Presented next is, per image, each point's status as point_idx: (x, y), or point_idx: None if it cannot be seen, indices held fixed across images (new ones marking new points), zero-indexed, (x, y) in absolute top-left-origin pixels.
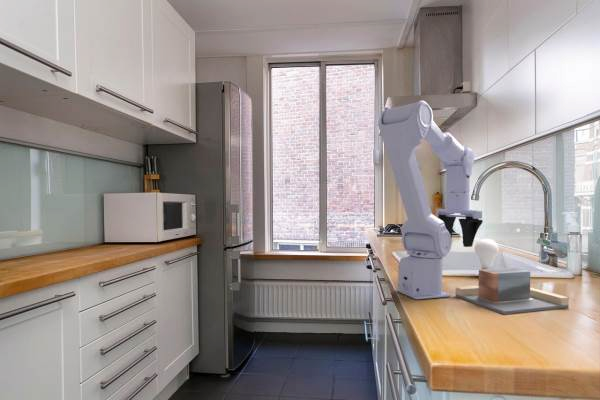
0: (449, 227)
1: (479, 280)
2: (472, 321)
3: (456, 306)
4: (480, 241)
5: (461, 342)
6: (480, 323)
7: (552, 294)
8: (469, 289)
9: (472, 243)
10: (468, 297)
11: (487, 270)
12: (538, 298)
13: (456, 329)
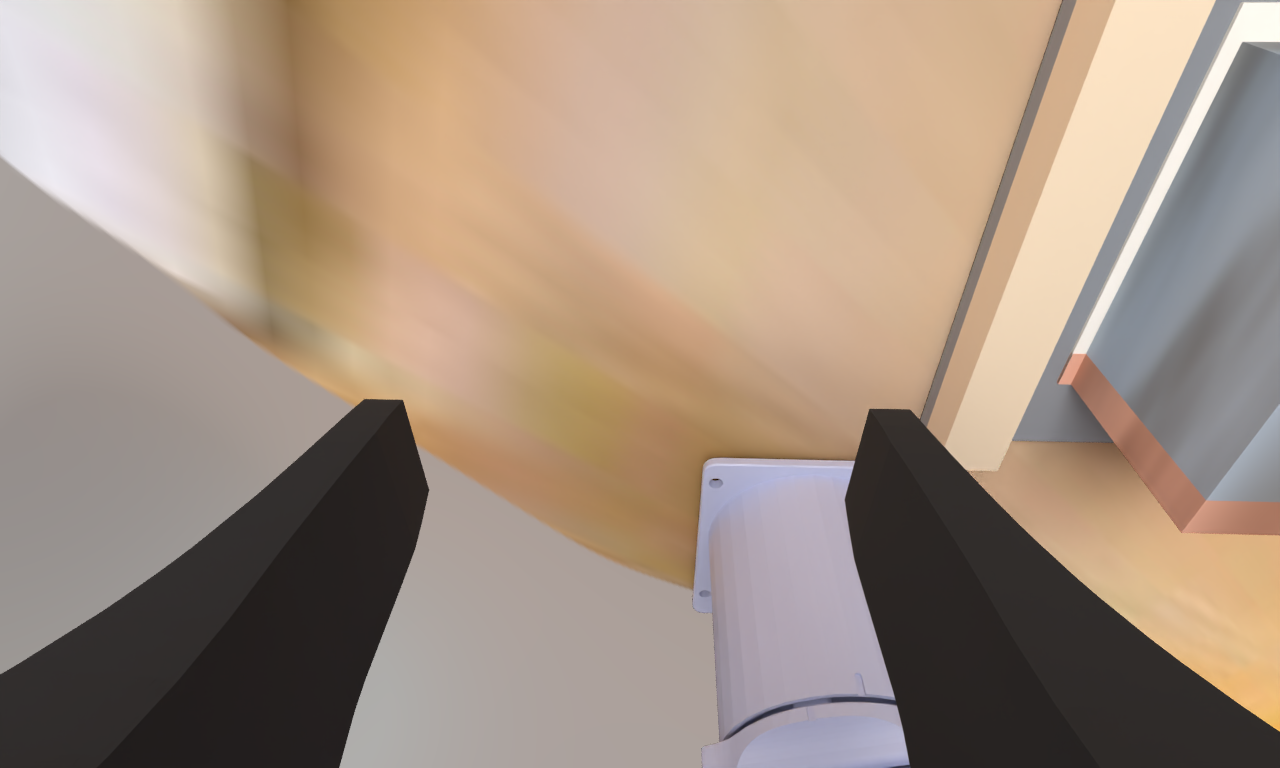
0: (264, 675)
1: (1141, 467)
2: (1204, 587)
3: (1043, 527)
4: None
5: (1259, 694)
6: (1241, 579)
7: None
8: (1015, 420)
9: (939, 450)
10: (1026, 430)
11: (1252, 495)
12: None
13: (1196, 658)
